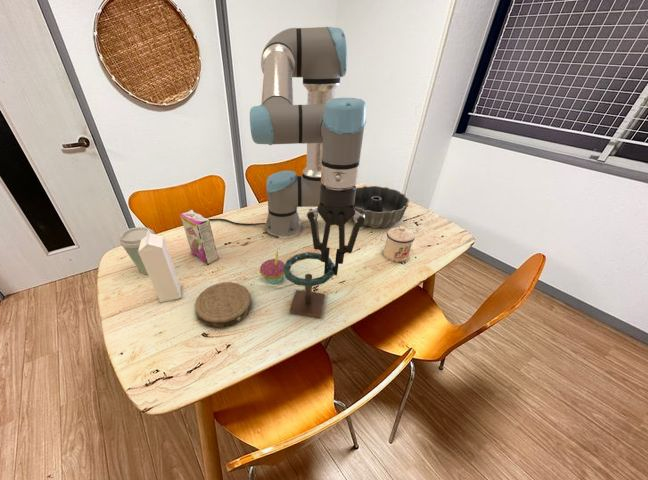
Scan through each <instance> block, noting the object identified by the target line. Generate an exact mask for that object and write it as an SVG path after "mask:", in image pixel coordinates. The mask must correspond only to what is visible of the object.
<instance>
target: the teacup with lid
mask: <svg viewBox="0 0 648 480" xmlns="http://www.w3.org/2000/svg"><path fill="white" fill-rule="evenodd" d="M415 240H416V235H415V234H414V232H413V231H411V230H410V229H407V228H406V227H405V226H403V225H401V226H398V227H392V228H389V230H387V231H386V239H385V243H384V246H383V247H384V248H383V255H384V256H385V257H386V258H387V259H390V260H392V261H393V262H395V263H401V262H405V261H406V260H408V258H409V255H410V252H411V248H412V245H413V243H414V241H415Z"/></svg>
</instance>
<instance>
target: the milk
mask: <svg viewBox="0 0 648 480" xmlns="http://www.w3.org/2000/svg"><path fill="white" fill-rule="evenodd" d="M149 229H150V228H149ZM149 229H148V231H147V235H146V237H144V238H143V239H142V240H141V242H140V246H139V250H138V253H139V255H140V257H141V260H142V262H143V264H144V266H145V269H146V271H147V273H148V274H147V275H148V278H149V281H150V282H151V285H152V287H153V289H154V291H155V294H156V296H157V298H158V301H159V303H164V302H169V301H175V300H179V299H181V297H182V285H181V282H180V280H179V277H178V273H177V271H176V268H175V266H174V262H173V260H172V256H171V254H170V251H169V248H168V246H167V243H166V240H165V238H164V236H162V235H159V234H156V233H155V234H152V233H150V231H149Z"/></svg>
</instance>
